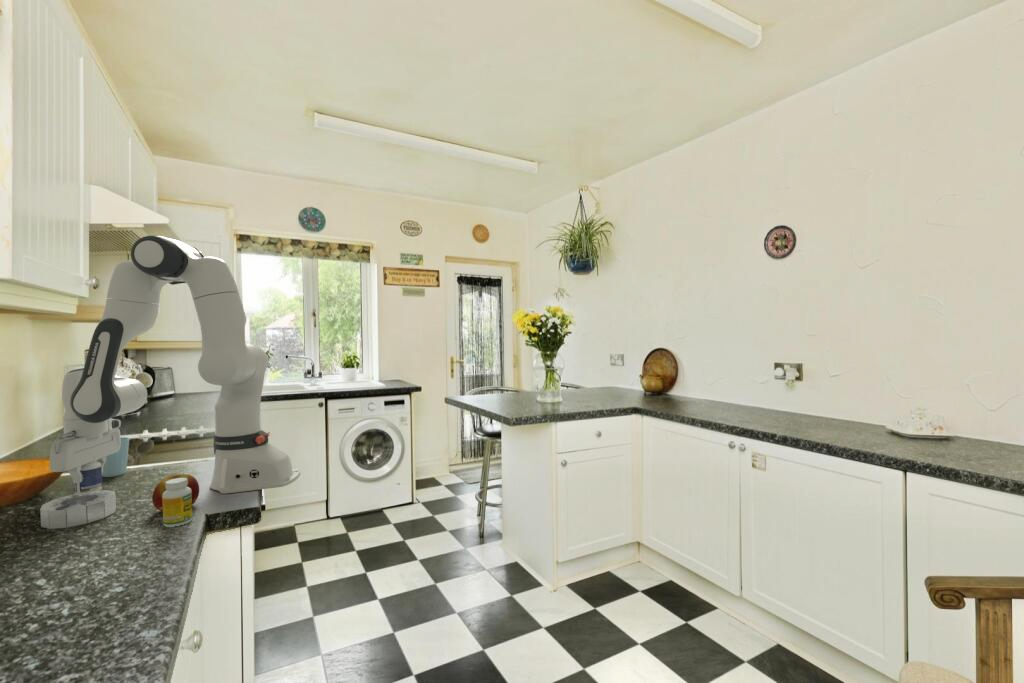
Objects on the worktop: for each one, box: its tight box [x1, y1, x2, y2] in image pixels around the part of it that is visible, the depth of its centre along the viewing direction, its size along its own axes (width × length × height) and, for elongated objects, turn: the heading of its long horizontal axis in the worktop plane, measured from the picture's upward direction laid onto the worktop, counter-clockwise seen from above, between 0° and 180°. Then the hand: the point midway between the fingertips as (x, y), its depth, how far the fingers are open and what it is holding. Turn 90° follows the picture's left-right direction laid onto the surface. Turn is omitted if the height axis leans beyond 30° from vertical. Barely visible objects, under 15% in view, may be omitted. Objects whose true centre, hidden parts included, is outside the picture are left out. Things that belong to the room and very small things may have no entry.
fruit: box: [151, 473, 200, 512], centre depth 111 cm, size 10×9×8 cm
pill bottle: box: [74, 455, 103, 494], centre depth 125 cm, size 5×5×10 cm
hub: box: [39, 489, 117, 530], centre depth 107 cm, size 12×12×4 cm
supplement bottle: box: [162, 478, 194, 528], centre depth 103 cm, size 5×5×10 cm
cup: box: [102, 436, 130, 478], centre depth 140 cm, size 8×8×10 cm
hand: (88, 478), depth 125 cm, fingers closed on pill bottle, 5 cm apart
